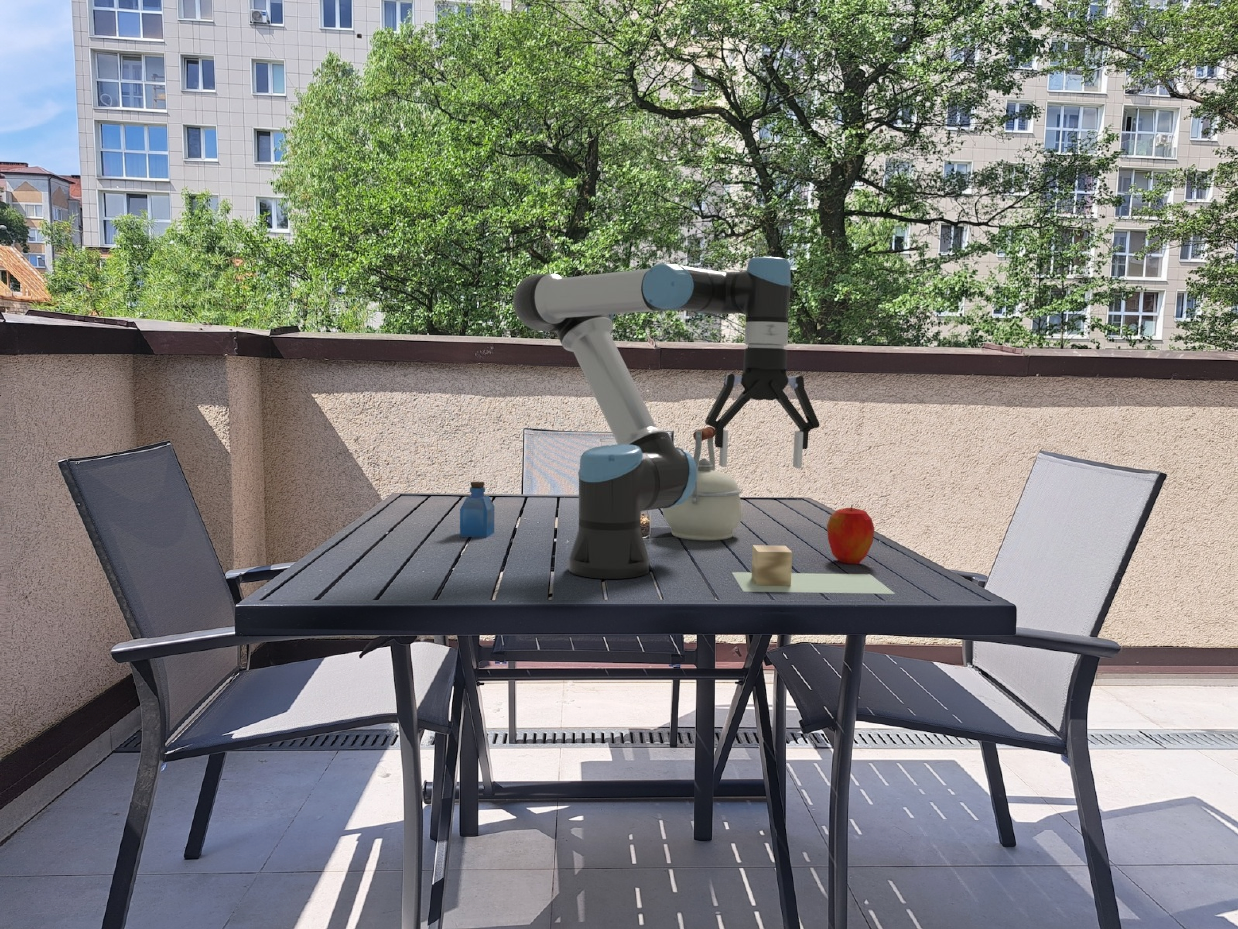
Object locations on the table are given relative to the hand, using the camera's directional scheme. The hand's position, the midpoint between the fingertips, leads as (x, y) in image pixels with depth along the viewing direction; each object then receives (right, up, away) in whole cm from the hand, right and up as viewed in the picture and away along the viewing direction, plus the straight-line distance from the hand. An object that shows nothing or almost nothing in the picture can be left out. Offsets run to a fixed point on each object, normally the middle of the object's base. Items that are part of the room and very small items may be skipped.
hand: (760, 467), depth 162 cm
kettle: (-6, -16, +50) cm, 53 cm away
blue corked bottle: (-58, -16, +44) cm, 74 cm away
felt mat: (+9, -21, 0) cm, 23 cm away
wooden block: (+2, -21, 0) cm, 21 cm away
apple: (+21, -20, +19) cm, 34 cm away
